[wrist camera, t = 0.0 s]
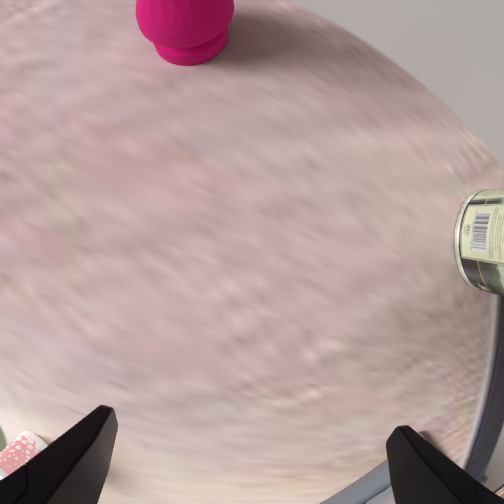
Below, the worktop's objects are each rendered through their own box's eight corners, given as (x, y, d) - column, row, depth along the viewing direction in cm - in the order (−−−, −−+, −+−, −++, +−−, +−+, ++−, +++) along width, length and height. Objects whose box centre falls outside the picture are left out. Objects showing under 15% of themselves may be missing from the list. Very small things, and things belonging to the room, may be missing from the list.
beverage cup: (12, 418, 23) (-49, 481, 9) (51, 437, 24) (-6, 513, 10) (23, 452, 24) (-26, 515, 10) (61, 470, 24) (17, 543, 10)
